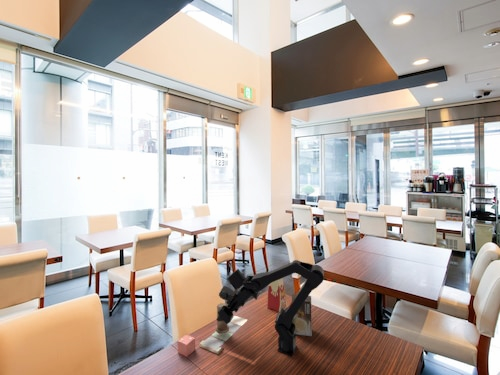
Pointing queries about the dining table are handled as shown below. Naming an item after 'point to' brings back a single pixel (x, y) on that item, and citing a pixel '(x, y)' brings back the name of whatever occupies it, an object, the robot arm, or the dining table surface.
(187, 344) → the die
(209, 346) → the board
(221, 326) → the pawn
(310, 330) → the coffee box
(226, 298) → the robot arm
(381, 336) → the dining table surface
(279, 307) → the milk carton
